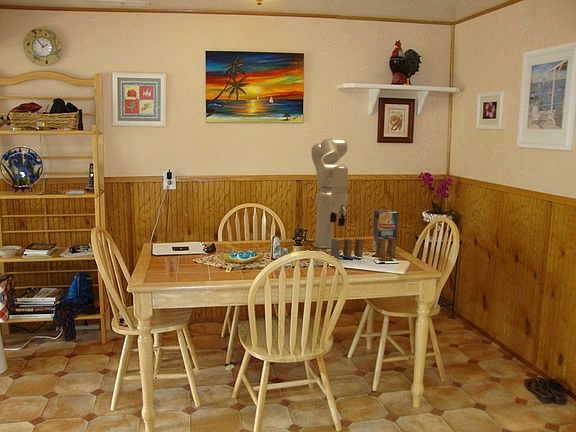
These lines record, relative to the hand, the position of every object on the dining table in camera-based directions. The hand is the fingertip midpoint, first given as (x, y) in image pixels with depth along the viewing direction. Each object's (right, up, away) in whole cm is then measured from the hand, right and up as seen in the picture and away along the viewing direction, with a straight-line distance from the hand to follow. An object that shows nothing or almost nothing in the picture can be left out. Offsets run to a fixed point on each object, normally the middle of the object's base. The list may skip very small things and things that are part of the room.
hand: (337, 223), depth 281 cm
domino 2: (+6, -18, +6) cm, 20 cm away
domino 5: (+30, -18, +15) cm, 38 cm away
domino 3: (+12, -18, +8) cm, 23 cm away
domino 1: (-1, -18, +3) cm, 18 cm away
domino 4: (+24, -18, +12) cm, 32 cm away
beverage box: (+28, -15, +28) cm, 42 cm away
